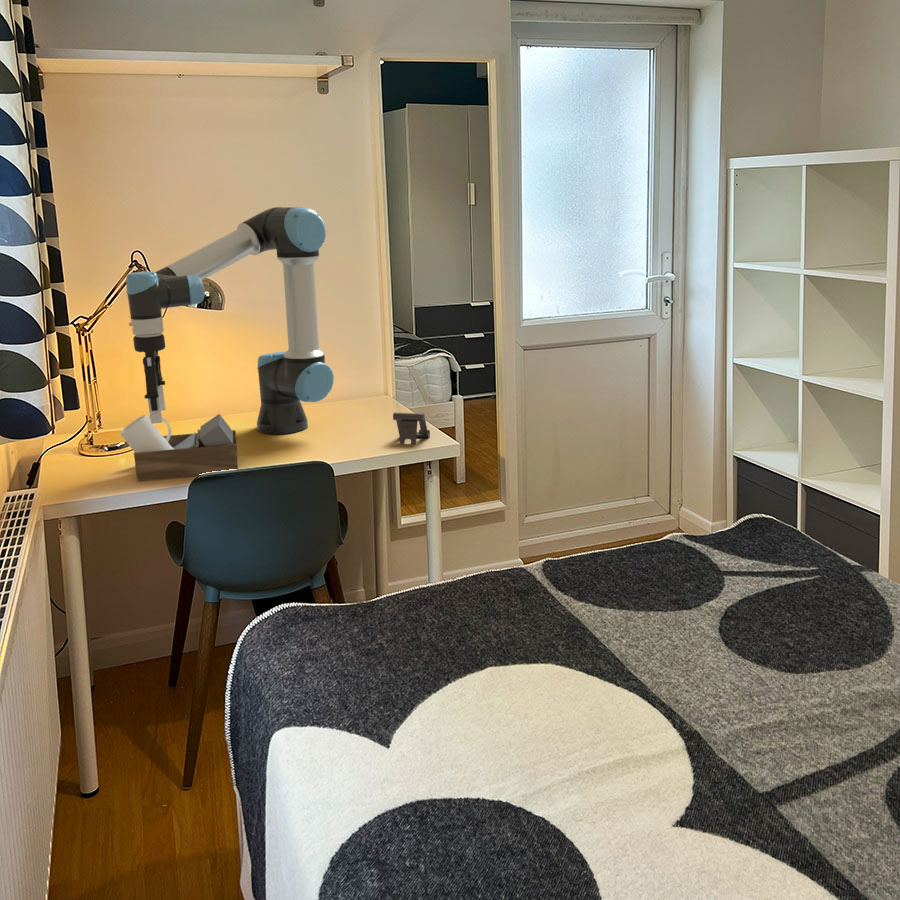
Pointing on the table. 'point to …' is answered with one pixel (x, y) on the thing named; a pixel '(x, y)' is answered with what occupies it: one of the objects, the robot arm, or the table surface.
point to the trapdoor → (210, 434)
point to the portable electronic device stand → (411, 426)
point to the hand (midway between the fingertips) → (158, 416)
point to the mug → (145, 435)
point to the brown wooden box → (185, 459)
